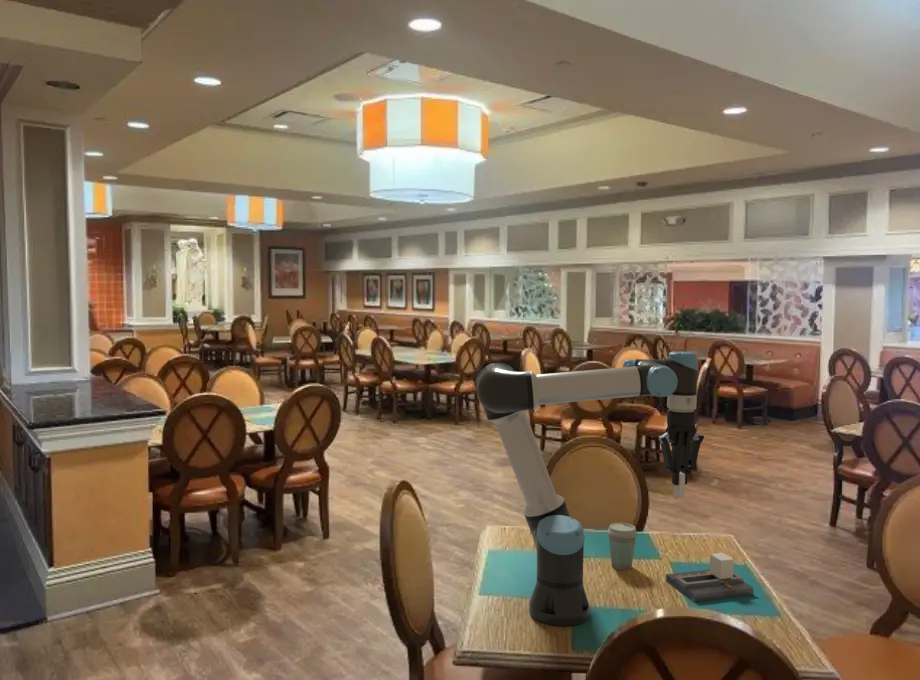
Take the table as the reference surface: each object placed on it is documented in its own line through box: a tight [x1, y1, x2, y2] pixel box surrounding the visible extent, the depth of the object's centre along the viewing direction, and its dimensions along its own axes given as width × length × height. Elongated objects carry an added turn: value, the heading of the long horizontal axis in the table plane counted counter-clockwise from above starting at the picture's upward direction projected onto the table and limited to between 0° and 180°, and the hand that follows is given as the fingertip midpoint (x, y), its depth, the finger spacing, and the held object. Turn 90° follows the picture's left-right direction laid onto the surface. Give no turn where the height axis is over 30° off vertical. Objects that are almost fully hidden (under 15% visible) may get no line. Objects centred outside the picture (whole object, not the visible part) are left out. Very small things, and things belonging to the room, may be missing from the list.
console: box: [665, 569, 755, 603], centre depth 199 cm, size 18×14×3 cm
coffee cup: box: [607, 522, 638, 571], centre depth 214 cm, size 8×8×12 cm
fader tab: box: [709, 552, 735, 579], centre depth 200 cm, size 4×5×6 cm
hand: (679, 496), depth 195 cm, fingers closed
